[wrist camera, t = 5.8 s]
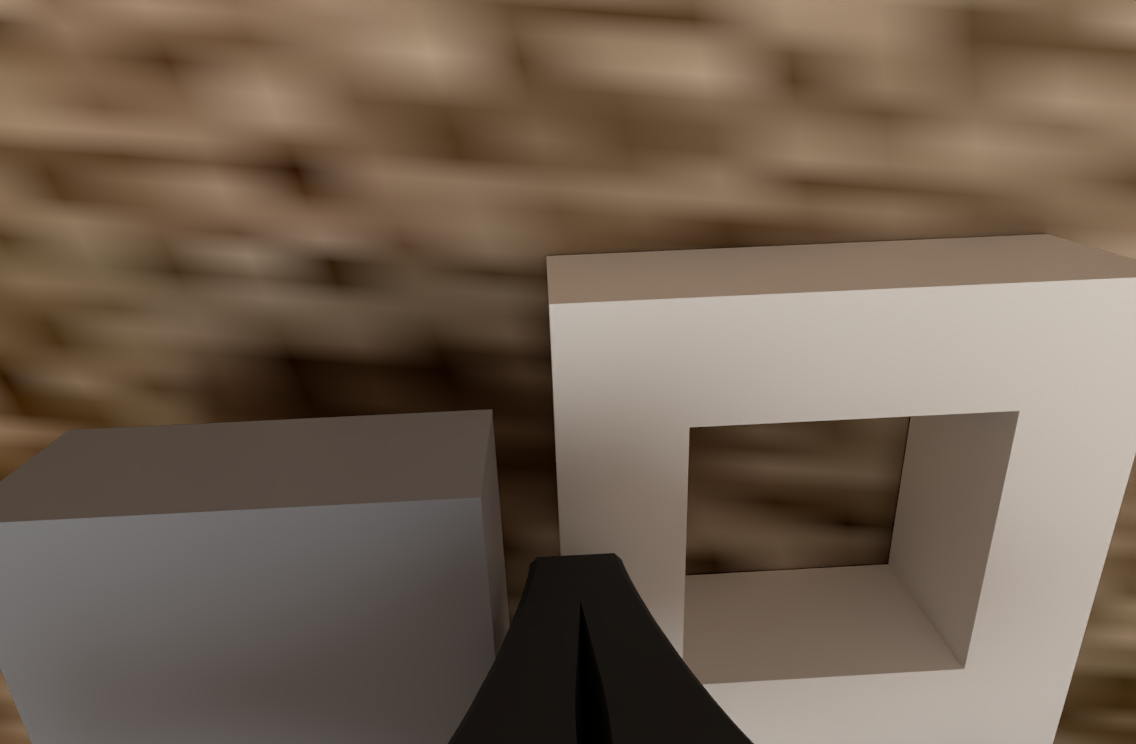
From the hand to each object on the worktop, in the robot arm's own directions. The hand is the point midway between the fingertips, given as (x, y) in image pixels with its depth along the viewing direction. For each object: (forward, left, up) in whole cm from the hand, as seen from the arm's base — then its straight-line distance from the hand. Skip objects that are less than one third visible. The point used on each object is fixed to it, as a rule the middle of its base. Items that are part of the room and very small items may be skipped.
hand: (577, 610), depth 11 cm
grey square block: (+4, 0, -1) cm, 4 cm away
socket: (-4, 0, -4) cm, 6 cm away
